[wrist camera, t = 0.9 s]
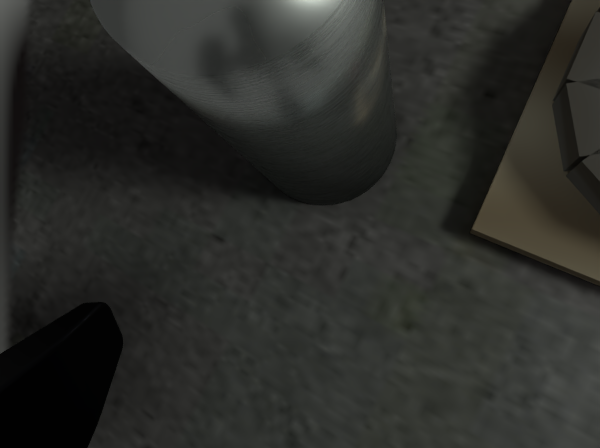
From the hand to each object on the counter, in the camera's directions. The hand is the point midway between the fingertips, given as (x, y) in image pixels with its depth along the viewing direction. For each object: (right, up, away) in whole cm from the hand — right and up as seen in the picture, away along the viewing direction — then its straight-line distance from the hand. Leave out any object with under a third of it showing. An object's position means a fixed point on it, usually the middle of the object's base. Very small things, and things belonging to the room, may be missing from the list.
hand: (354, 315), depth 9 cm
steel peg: (0, +5, +14) cm, 15 cm away
